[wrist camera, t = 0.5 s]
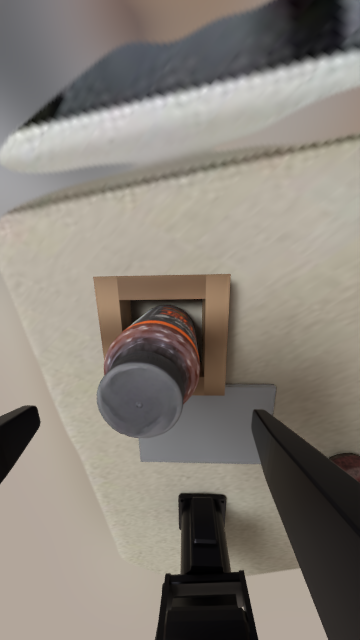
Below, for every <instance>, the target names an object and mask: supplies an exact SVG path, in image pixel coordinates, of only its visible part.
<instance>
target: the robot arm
mask: <svg viewBox="0 0 360 640" xmlns="http://www.w3.org/2000/svg"><path fill="white" fill-rule="evenodd" d="M39 426H40V417H39V414H38V409H37V407H36V406H30V405H27V406H22V407H20V408H18V409H16V410H13V411H11V412H9V413H7V414H4V415H2V416H0V484H1V482H2V481H3V480H4V478H5V477H6V476H7V474H8V473H9V472H10V470H11V469H12V467H13V466H14V465H15V463H16V461H17V460H18V459H19V457H20V456H21V454H22V453H23V451H24V450H25V448H26V446H27V445H28V443H29V442H30V441H31V439H32V438H33V436H34V435H35V433H36V432H37V430H38V428H39ZM251 430H252V434H253V438H254V441H255V445H256V448H257V451H258V455H259V458H260V462H261V465H262V468H263V472H264V475H265V478H266V481H267V484H268V486H269V489H270V492H271V494H272V497H273V499H274V502H275V504H276V507H277V509H278V512H279V515H280V517H281V520H282V522H283V525H284V527H285V530H286V533H287V535H288V538H289V540H290V543H291V545H292V548H293V550H294V553H295V556H296V558H297V561H298V563H299V566H300V568H301V571H302V573H303V576H304V579H305V581H306V584H307V586H308V589H309V591H310V594H311V596H312V599H313V602H314V604H315V606H316V609H317V612H318V614H319V617H320V620H321V622H322V625H323V627H324V630H325V632H326V635H327V637H328V640H360V482H358V481H357V480H356V479H355V478H353V477H352V476H351V475H349V474H348V473H347V472H345V471H344V470H343V469H342V468H340V467H339V466H338V465H336V464H335V463H334V462H332V461H331V460H330V459H328V458H327V457H326V456H325V455H323V454H322V453H321V452H319V451H318V450H317V449H315V448H314V447H313V446H311V445H310V444H309V443H308V442H306V441H305V440H304V439H302V438H301V437H300V436H298V435H297V434H296V433H295V432H293V431H292V430H291V429H289V428H288V427H287V426H285V425H284V424H283V423H281V422H280V421H279V420H278V419H276V418H275V417H274V416H272V415H271V414H270V413H268V412H267V411H266V410H264V409H254V410H253V413H252V423H251ZM178 502H179V529H180V530H181V574H178V575H171V574H170V573H168V574H166V575H165V583H163V586H162V597H161V605H160V613H159V622H158V627H157V632H156V637H155V640H258V636H257V632H256V627H255V622H254V618H253V613H252V608H251V604H250V598H249V594H248V589H247V584H246V580H245V575H244V570H240V571H239V572H231V568H230V561H229V555H228V548H227V542H226V535H225V529H224V527H225V511H226V499H225V496H222V495H189V494H181V495H179V499H178ZM242 607H244V610H243V609H242Z"/></svg>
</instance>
